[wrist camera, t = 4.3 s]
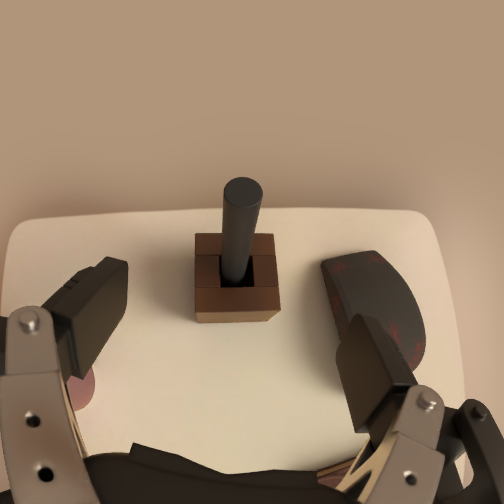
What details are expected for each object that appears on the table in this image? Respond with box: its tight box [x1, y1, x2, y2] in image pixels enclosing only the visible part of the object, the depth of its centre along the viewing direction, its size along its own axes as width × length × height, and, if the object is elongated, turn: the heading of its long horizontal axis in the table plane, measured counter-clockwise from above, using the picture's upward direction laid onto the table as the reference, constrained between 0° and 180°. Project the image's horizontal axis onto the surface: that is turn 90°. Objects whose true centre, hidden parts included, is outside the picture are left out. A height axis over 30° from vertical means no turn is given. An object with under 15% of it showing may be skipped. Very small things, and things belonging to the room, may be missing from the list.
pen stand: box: [195, 233, 281, 323], centre depth 24 cm, size 6×6×5 cm
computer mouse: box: [321, 250, 426, 372], centre depth 25 cm, size 8×14×4 cm, turn 14°
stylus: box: [221, 177, 263, 287], centre depth 20 cm, size 2×2×14 cm
